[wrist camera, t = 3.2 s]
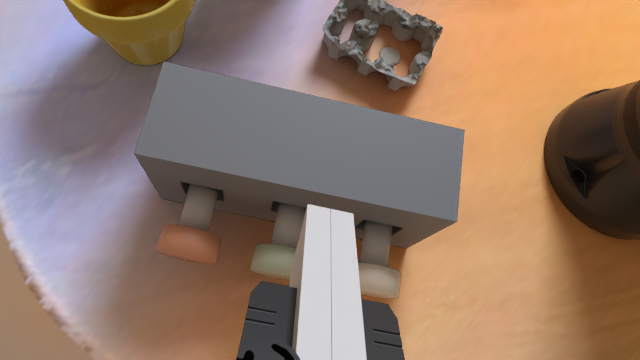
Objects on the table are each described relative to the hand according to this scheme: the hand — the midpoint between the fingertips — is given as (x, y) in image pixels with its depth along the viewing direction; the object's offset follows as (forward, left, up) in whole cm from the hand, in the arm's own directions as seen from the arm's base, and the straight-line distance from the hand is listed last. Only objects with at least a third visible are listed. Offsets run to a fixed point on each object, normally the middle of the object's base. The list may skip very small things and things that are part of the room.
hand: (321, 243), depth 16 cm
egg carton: (+2, -26, -26) cm, 37 cm away
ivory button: (-5, -6, -23) cm, 24 cm away
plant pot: (+22, -16, -26) cm, 38 cm away
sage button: (+1, -4, -23) cm, 23 cm away
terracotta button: (+8, -2, -23) cm, 25 cm away
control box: (+3, -9, -26) cm, 28 cm away
